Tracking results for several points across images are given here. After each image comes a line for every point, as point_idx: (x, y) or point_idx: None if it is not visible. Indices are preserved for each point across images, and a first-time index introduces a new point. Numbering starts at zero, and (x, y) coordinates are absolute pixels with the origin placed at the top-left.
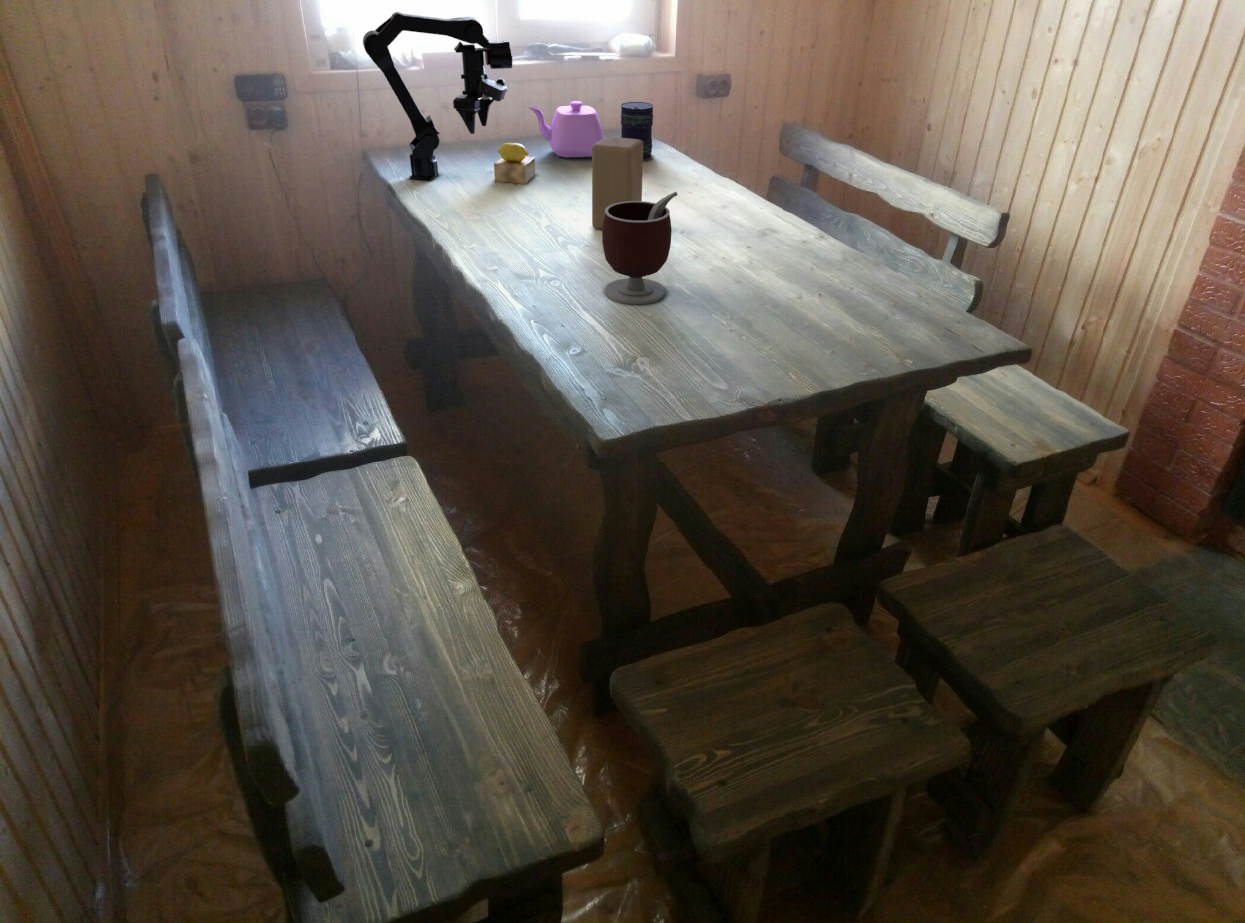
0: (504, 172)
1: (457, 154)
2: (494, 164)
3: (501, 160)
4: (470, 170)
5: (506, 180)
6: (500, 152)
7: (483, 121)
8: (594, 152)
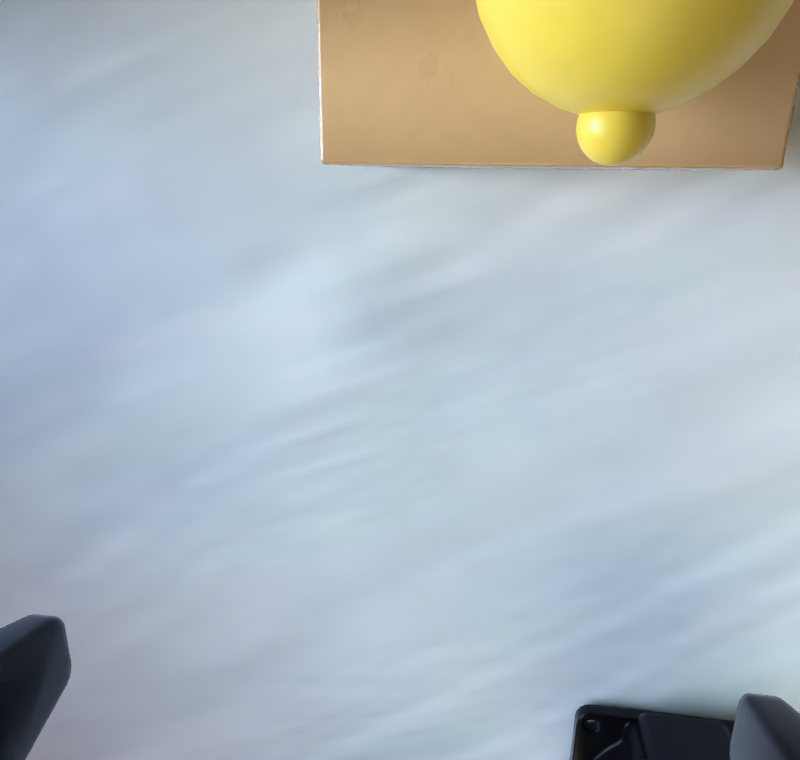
0: None
1: None
2: (777, 160)
3: None
4: (386, 507)
5: None
6: (742, 64)
7: (5, 714)
8: None
